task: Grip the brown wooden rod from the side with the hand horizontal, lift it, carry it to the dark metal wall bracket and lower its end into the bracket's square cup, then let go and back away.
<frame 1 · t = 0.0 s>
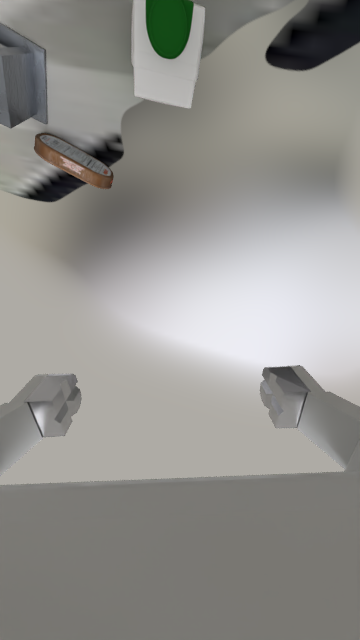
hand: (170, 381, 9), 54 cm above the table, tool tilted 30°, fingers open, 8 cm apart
tin: (82, 155, 47), on the table
milk carton: (166, 52, 36), on the table
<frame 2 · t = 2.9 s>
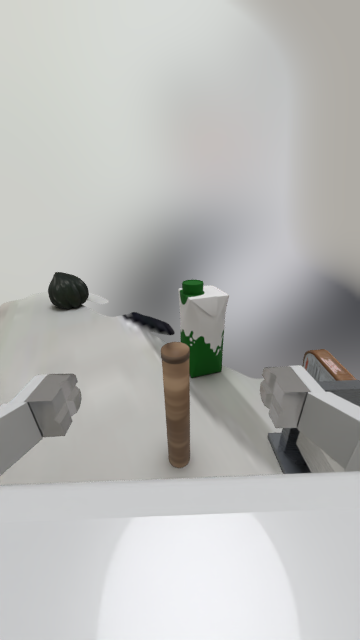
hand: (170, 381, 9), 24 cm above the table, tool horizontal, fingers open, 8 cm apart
bracket: (332, 491, 26), on the table
squash: (72, 306, 89), on the table
brown wooden rod: (179, 456, 30), on the table
tin: (322, 402, 39), on the table
milk carton: (201, 366, 49), on the table
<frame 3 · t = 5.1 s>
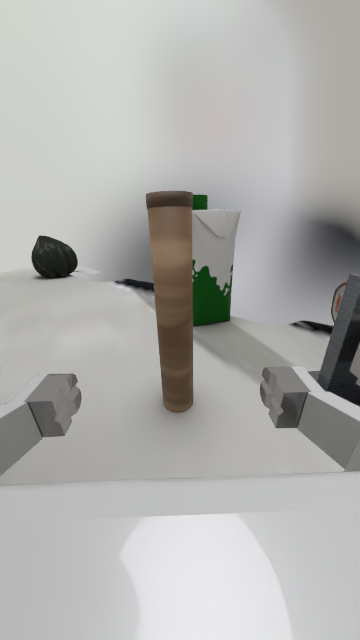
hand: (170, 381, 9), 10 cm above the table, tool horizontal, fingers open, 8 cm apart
squash: (59, 276, 80), on the table
brown wooden rod: (178, 400, 21), on the table
milk carton: (204, 317, 41), on the table
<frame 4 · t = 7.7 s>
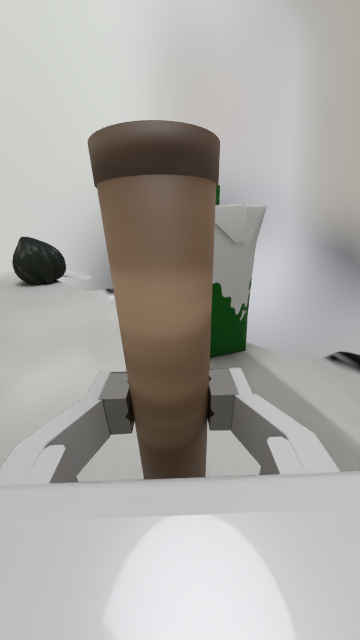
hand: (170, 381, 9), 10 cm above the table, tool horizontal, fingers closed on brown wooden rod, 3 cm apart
squash: (45, 282, 71), on the table
brown wooden rod: (178, 524, 13), on the table, touching gripper
milk carton: (212, 343, 32), on the table
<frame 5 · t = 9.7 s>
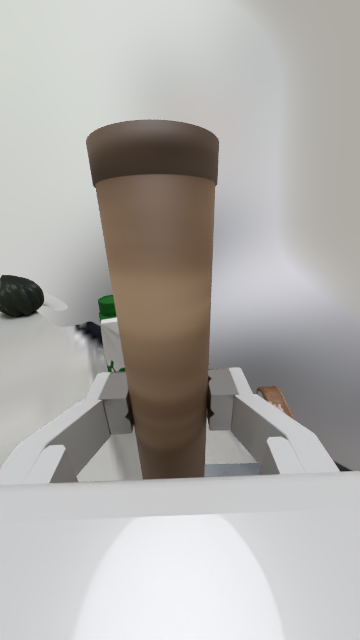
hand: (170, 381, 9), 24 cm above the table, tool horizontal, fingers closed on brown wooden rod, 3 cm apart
bracket: (250, 630, 17), on the table
squash: (25, 312, 80), on the table
brown wooden rod: (177, 525, 13), point 14 cm above the table, touching gripper
tin: (272, 456, 30), on the table
milk carton: (138, 397, 41), on the table
when the fingers open (15 cm above the table, at t = 11.9 s): brown wooden rod drops 1 cm, resting on bracket.
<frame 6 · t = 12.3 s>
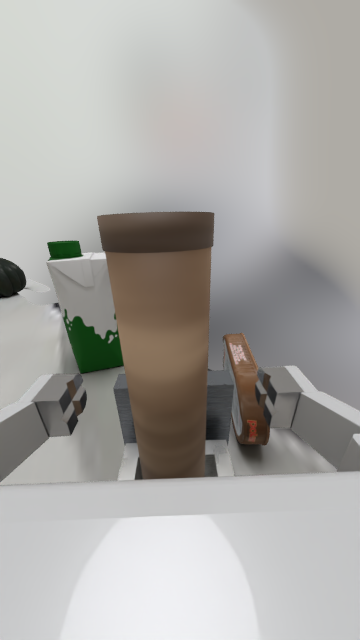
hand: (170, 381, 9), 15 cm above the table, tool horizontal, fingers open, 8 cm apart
bracket: (180, 564, 15), on the table
squash: (6, 294, 78), on the table
brown wooden rod: (178, 537, 13), point 4 cm above the table, touching bracket
tin: (236, 406, 28), on the table
milk carton: (104, 359, 38), on the table
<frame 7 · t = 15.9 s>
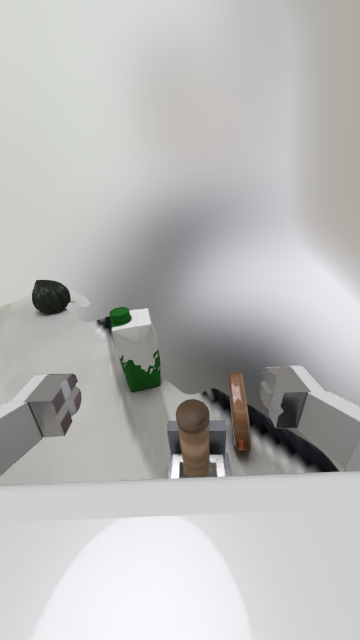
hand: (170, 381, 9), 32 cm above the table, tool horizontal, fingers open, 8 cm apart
bracket: (200, 509, 31), on the table
squash: (56, 309, 96), on the table
brown wooden rod: (199, 497, 29), point 4 cm above the table, touching bracket
tin: (236, 421, 42), on the table
milk carton: (145, 379, 54), on the table
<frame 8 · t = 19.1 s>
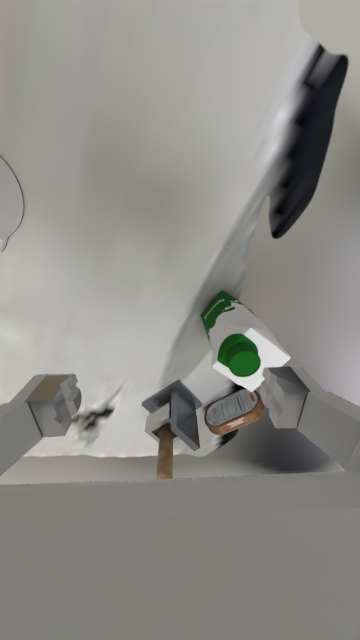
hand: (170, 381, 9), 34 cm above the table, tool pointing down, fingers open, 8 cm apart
bracket: (167, 405, 56), on the table
brown wooden rod: (167, 418, 52), point 4 cm above the table, touching bracket
tin: (228, 396, 55), on the table
milk carton: (223, 312, 45), on the table
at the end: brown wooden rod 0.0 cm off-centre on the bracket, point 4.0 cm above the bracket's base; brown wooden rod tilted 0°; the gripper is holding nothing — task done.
